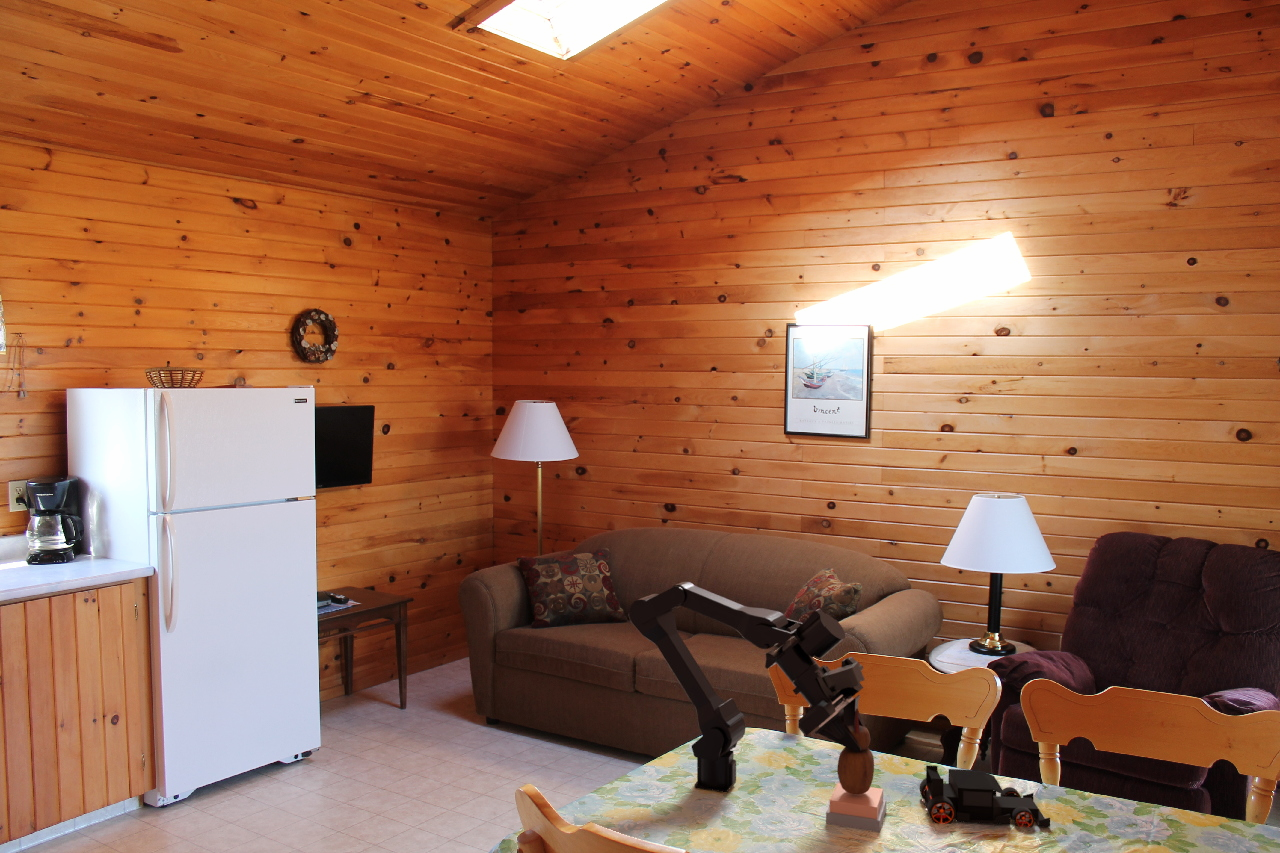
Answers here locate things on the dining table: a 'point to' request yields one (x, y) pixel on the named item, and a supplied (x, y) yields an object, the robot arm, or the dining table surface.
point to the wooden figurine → (856, 762)
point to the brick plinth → (856, 820)
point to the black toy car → (976, 800)
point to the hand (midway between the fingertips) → (863, 746)
